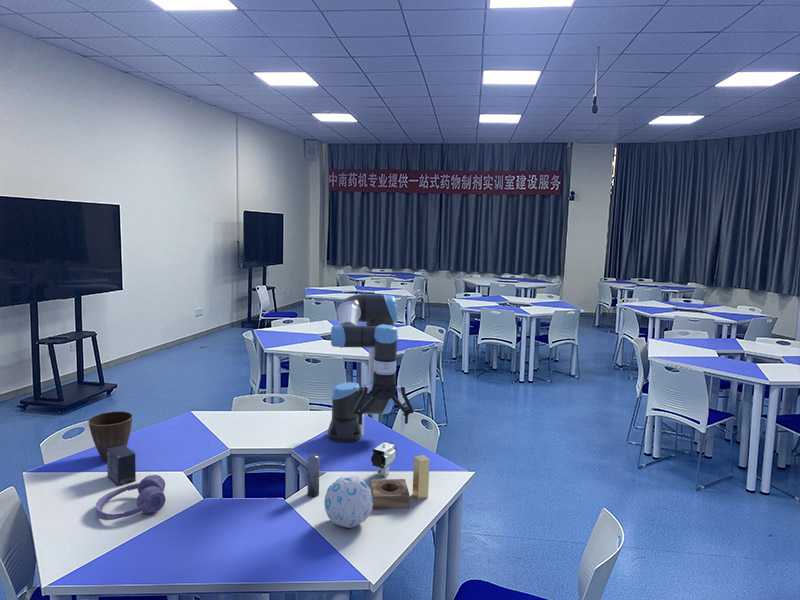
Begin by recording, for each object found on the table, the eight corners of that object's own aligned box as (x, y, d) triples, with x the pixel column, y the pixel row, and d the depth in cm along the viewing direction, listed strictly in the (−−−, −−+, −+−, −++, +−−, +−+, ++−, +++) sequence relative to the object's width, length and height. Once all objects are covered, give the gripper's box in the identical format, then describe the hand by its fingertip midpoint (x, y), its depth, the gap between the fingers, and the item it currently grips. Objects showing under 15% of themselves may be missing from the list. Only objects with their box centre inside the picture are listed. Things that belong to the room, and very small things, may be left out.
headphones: (167, 488, 189) (102, 506, 181) (162, 466, 187) (97, 484, 180) (167, 515, 172) (96, 536, 165) (162, 491, 170) (90, 511, 163)
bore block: (370, 491, 193) (371, 479, 192) (404, 490, 194) (404, 478, 194) (373, 509, 181) (373, 496, 180) (409, 508, 182) (409, 495, 182)
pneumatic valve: (369, 478, 202) (370, 447, 201) (385, 467, 213) (386, 437, 211) (382, 482, 200) (384, 451, 198) (398, 470, 210) (399, 440, 208)
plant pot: (95, 469, 201) (93, 428, 199) (86, 455, 212) (84, 416, 210) (138, 459, 211) (137, 419, 209) (127, 446, 222) (126, 408, 220)
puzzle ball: (328, 510, 179) (329, 466, 177) (374, 512, 179) (375, 469, 177) (320, 536, 164) (320, 489, 162) (370, 538, 164) (371, 491, 162)
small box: (137, 481, 194) (136, 452, 193) (118, 486, 189) (117, 458, 188) (125, 471, 201) (124, 443, 200) (106, 476, 197) (105, 448, 195)
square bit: (412, 494, 192) (414, 456, 190) (422, 492, 194) (424, 454, 192) (417, 499, 188) (419, 461, 186) (428, 497, 190) (429, 459, 188)
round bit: (307, 491, 191) (308, 453, 189) (319, 491, 191) (319, 453, 189) (307, 497, 187) (307, 458, 185) (318, 497, 187) (319, 458, 186)
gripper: (347, 375, 176) (346, 438, 179) (423, 375, 180) (421, 436, 183) (346, 369, 183) (345, 429, 186) (419, 368, 187) (417, 428, 190)
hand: (382, 433), depth 185 cm, fingers open, 13 cm apart
